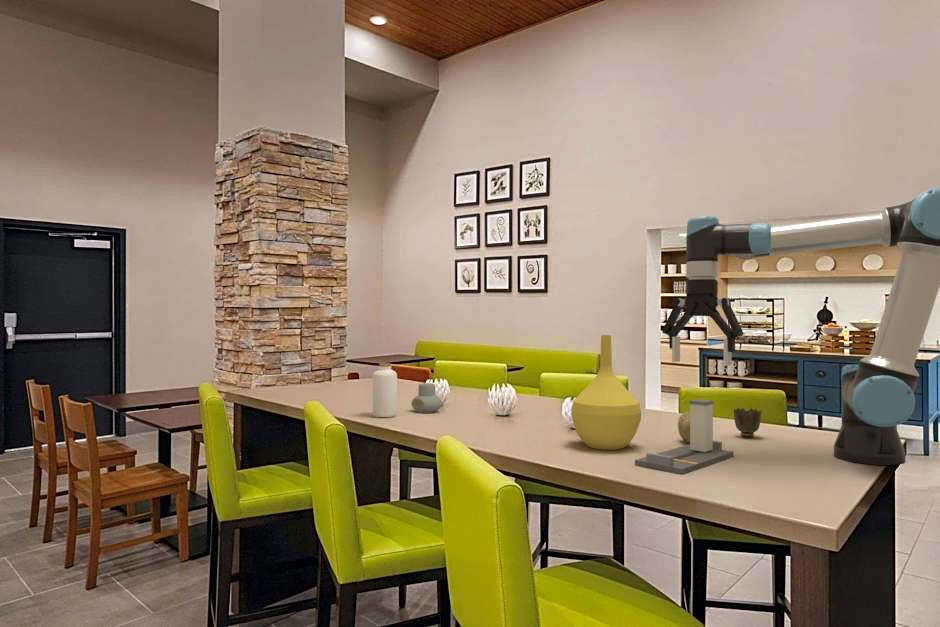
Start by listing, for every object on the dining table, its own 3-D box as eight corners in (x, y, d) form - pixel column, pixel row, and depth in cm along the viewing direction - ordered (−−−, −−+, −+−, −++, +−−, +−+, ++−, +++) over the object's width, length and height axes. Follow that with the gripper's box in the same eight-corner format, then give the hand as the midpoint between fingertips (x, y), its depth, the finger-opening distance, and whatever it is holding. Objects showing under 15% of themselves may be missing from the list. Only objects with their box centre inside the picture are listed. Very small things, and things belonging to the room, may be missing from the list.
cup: (733, 438, 184) (733, 410, 184) (733, 434, 191) (733, 407, 191) (762, 440, 182) (762, 412, 181) (760, 436, 188) (761, 408, 188)
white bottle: (395, 418, 217) (395, 364, 217) (370, 418, 218) (370, 364, 217) (398, 414, 226) (398, 362, 226) (374, 414, 226) (374, 362, 226)
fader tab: (697, 447, 166) (697, 399, 166) (713, 449, 163) (714, 400, 163) (688, 449, 163) (689, 400, 163) (705, 452, 160) (705, 402, 160)
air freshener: (408, 411, 233) (408, 383, 233) (426, 409, 239) (426, 381, 239) (427, 415, 225) (427, 386, 225) (445, 412, 231) (445, 384, 231)
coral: (727, 421, 174) (693, 406, 174) (710, 454, 175) (677, 439, 174) (714, 412, 183) (682, 398, 183) (699, 444, 184) (667, 430, 184)
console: (688, 448, 170) (688, 436, 170) (733, 456, 162) (733, 443, 162) (634, 465, 152) (634, 451, 152) (682, 474, 144) (682, 460, 144)
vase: (557, 446, 173) (558, 335, 173) (594, 436, 187) (594, 333, 187) (618, 457, 161) (619, 337, 161) (653, 446, 174) (653, 335, 174)
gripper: (758, 278, 156) (757, 366, 156) (664, 280, 174) (663, 359, 174) (745, 276, 151) (744, 367, 151) (649, 279, 169) (648, 361, 169)
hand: (700, 363), depth 163 cm, fingers open, 13 cm apart
